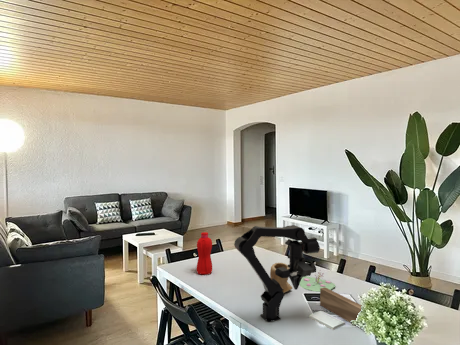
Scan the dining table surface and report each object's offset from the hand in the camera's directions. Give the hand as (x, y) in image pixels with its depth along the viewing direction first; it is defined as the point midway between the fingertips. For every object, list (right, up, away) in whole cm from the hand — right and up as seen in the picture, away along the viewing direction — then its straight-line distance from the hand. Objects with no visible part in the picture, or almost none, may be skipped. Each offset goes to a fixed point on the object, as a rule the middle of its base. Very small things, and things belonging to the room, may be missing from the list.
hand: (295, 289), depth 135 cm
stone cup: (-3, -11, +24) cm, 27 cm away
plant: (+18, -11, +37) cm, 42 cm away
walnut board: (+21, -11, -2) cm, 23 cm away
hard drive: (+12, -12, -6) cm, 18 cm away
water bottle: (-45, -10, +54) cm, 71 cm away
